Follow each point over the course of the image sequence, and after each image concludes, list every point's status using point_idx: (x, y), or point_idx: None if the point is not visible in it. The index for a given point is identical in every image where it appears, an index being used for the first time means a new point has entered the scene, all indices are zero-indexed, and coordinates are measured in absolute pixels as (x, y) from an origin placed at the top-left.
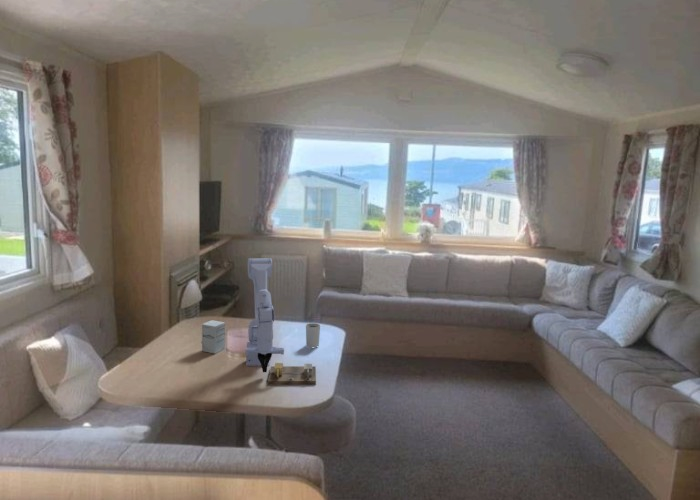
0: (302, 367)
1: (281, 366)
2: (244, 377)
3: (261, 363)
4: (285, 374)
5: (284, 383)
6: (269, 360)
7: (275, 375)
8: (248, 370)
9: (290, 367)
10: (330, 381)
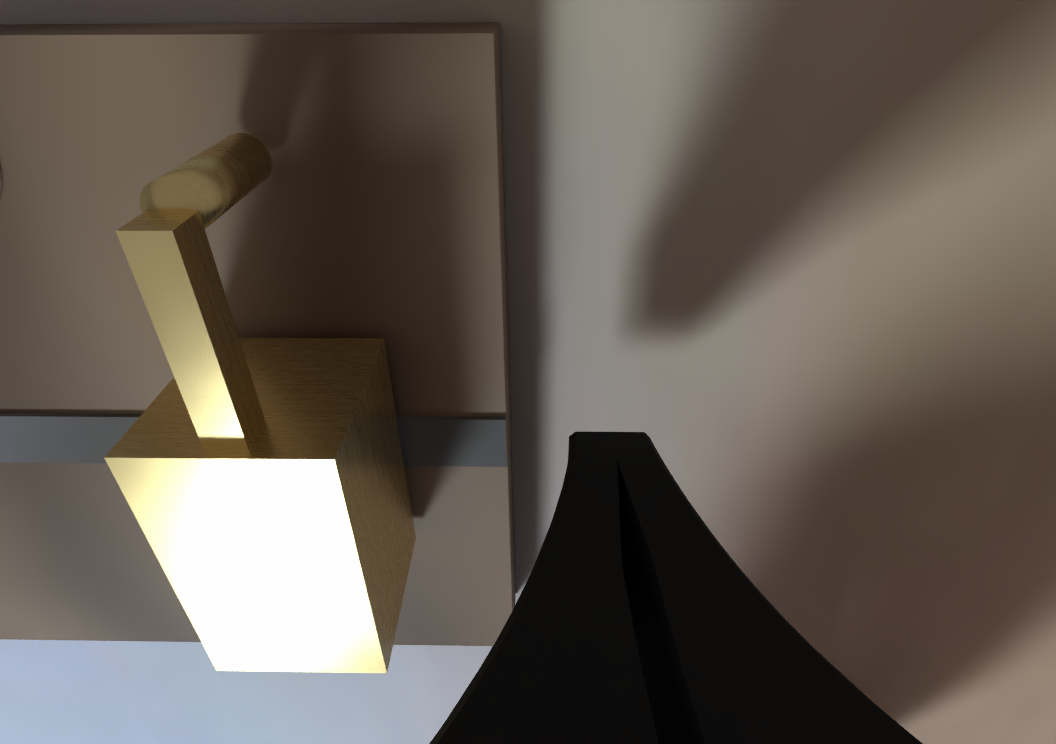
0: (10, 615)
1: (170, 535)
2: (965, 389)
3: (745, 604)
4: None
5: (77, 28)
6: (461, 704)
7: None
8: (841, 589)
9: None
10: None
